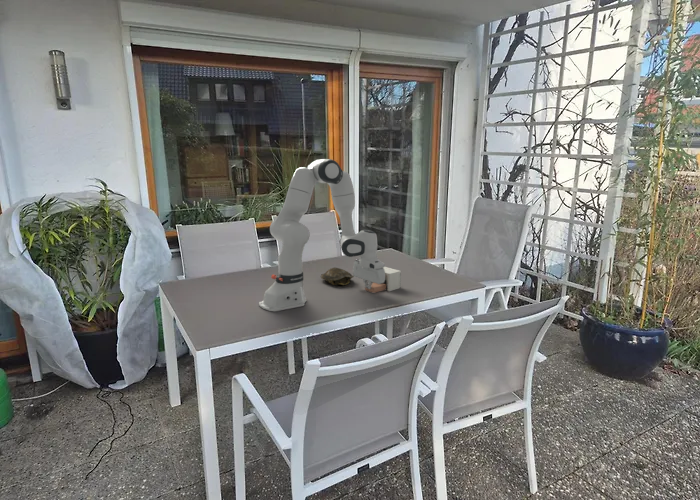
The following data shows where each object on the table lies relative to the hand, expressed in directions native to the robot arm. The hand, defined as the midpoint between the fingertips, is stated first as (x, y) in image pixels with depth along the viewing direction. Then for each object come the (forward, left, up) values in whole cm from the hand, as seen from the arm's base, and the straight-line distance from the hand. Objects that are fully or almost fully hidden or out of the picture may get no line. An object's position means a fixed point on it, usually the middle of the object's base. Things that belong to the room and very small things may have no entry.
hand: (368, 288), depth 223 cm
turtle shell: (0, +24, -2) cm, 25 cm away
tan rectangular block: (+5, 0, -2) cm, 6 cm away
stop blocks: (+15, 0, -2) cm, 15 cm away
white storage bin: (+13, 0, -2) cm, 13 cm away
